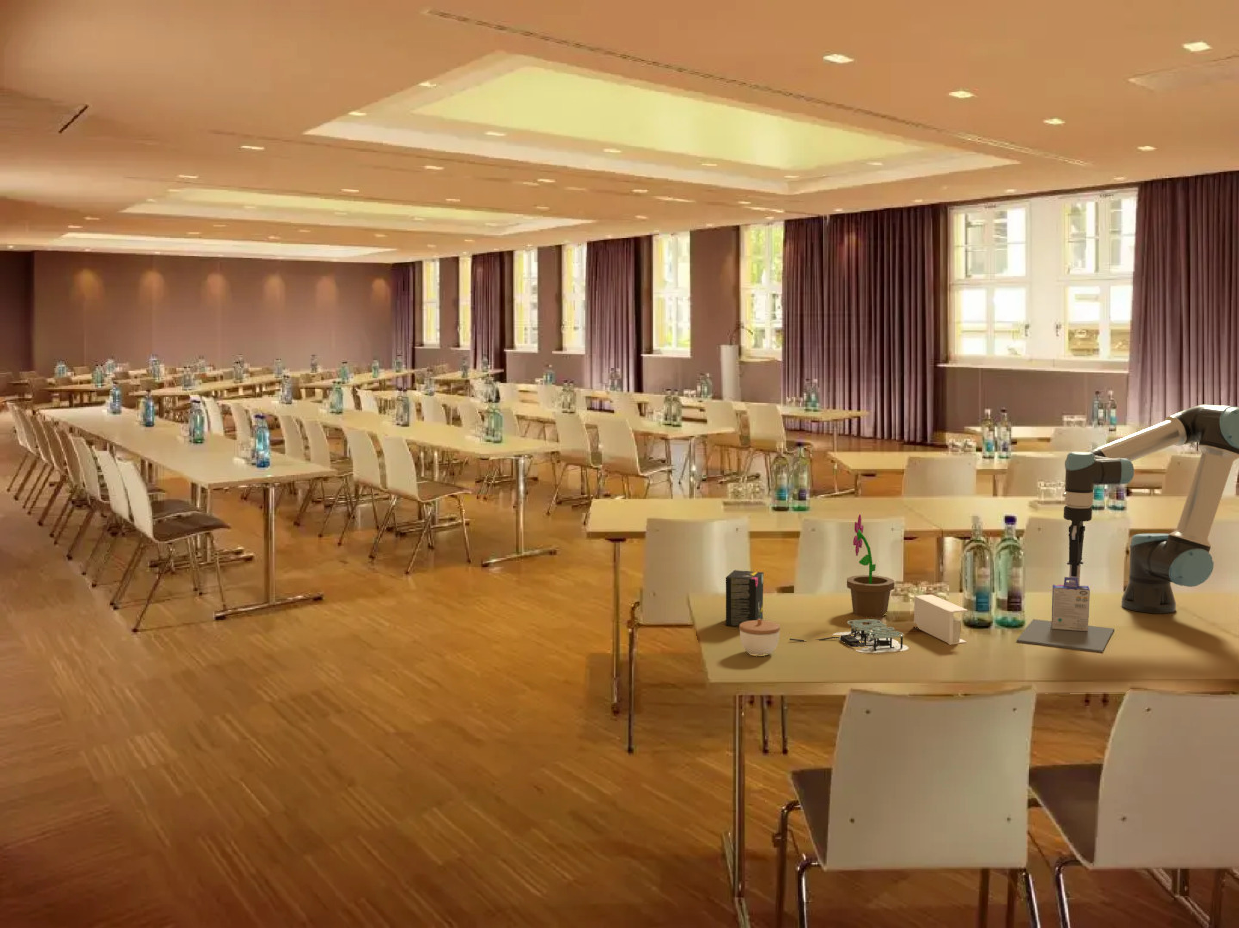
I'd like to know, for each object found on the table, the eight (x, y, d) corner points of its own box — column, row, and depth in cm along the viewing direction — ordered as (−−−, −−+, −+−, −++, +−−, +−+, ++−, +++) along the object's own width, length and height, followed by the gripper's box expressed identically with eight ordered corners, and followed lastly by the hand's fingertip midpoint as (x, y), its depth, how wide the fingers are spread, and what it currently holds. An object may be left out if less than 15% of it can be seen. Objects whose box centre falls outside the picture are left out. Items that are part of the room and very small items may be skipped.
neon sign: (782, 623, 322) (879, 617, 329) (782, 638, 323) (878, 631, 329) (811, 643, 302) (913, 636, 308) (811, 659, 303) (913, 651, 309)
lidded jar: (784, 658, 302) (785, 623, 301) (745, 660, 301) (745, 625, 299) (772, 646, 313) (773, 613, 312) (734, 648, 311) (734, 615, 310)
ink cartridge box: (1087, 627, 328) (1089, 577, 327) (1088, 632, 323) (1091, 581, 321) (1050, 624, 331) (1052, 575, 329) (1051, 629, 326) (1053, 579, 324)
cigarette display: (966, 643, 315) (968, 610, 314) (949, 645, 314) (950, 611, 313) (928, 624, 335) (929, 593, 333) (911, 626, 333) (912, 594, 332)
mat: (1033, 621, 338) (1033, 619, 338) (1113, 630, 327) (1114, 628, 327) (1016, 641, 316) (1016, 639, 316) (1102, 652, 305) (1102, 650, 305)
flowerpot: (851, 605, 357) (853, 510, 353) (898, 610, 351) (900, 513, 347) (840, 616, 344) (842, 518, 341) (888, 621, 338) (890, 521, 335)
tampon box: (756, 628, 331) (756, 579, 329) (724, 626, 334) (725, 577, 332) (763, 619, 342) (764, 571, 340) (733, 616, 345) (733, 569, 343)
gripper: (1067, 501, 335) (1064, 580, 338) (1060, 508, 324) (1056, 589, 327) (1095, 503, 332) (1091, 583, 335) (1088, 510, 321) (1084, 592, 323)
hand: (1074, 586), depth 331 cm, fingers closed
